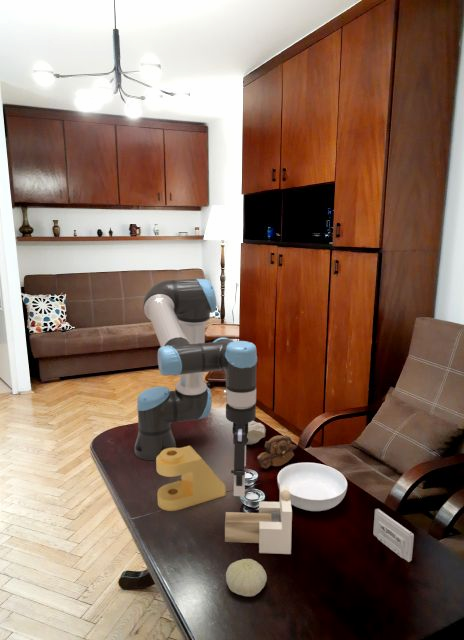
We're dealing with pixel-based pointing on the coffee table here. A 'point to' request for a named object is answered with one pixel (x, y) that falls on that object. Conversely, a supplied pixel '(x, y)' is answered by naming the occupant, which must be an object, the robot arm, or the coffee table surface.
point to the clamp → (186, 479)
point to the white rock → (255, 432)
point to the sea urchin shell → (246, 577)
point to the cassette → (393, 535)
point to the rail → (246, 525)
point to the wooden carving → (277, 451)
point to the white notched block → (276, 525)
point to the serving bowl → (313, 485)
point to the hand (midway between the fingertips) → (240, 479)
